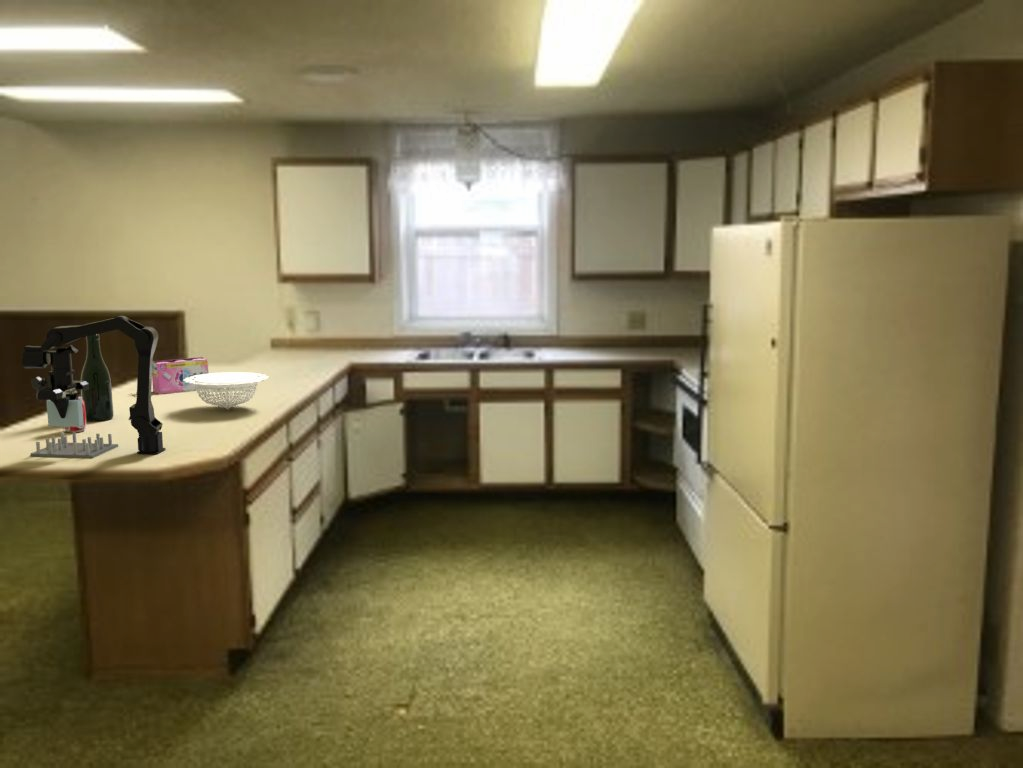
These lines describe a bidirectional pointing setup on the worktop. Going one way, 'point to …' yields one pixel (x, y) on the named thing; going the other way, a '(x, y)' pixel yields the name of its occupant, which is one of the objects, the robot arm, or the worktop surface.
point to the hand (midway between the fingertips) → (65, 417)
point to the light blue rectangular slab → (72, 415)
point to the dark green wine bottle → (96, 383)
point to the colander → (229, 382)
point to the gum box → (176, 374)
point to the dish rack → (74, 447)
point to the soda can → (81, 428)
